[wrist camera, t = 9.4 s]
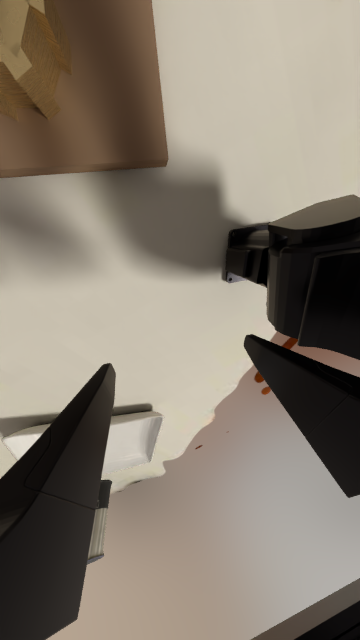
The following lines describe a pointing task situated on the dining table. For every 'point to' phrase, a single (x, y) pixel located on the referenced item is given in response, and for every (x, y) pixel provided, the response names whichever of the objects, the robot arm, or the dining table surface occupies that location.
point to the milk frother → (99, 522)
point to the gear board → (95, 98)
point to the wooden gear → (31, 56)
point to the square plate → (123, 440)
